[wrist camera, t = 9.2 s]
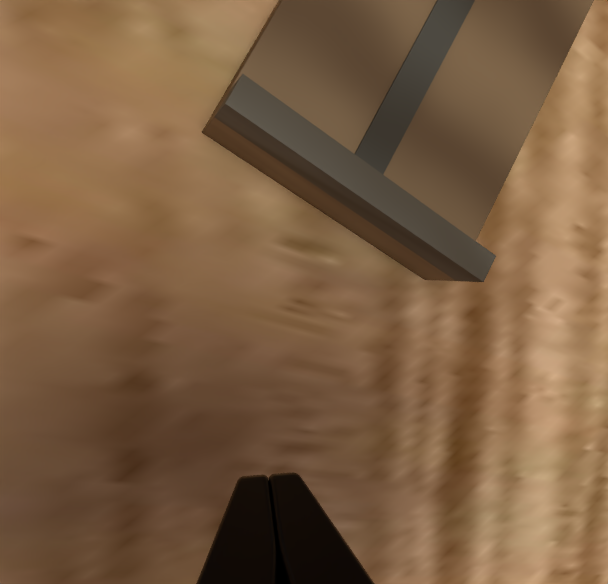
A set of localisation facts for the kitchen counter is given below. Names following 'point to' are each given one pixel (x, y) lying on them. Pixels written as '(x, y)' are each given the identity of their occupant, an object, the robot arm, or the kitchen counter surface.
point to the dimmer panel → (398, 114)
